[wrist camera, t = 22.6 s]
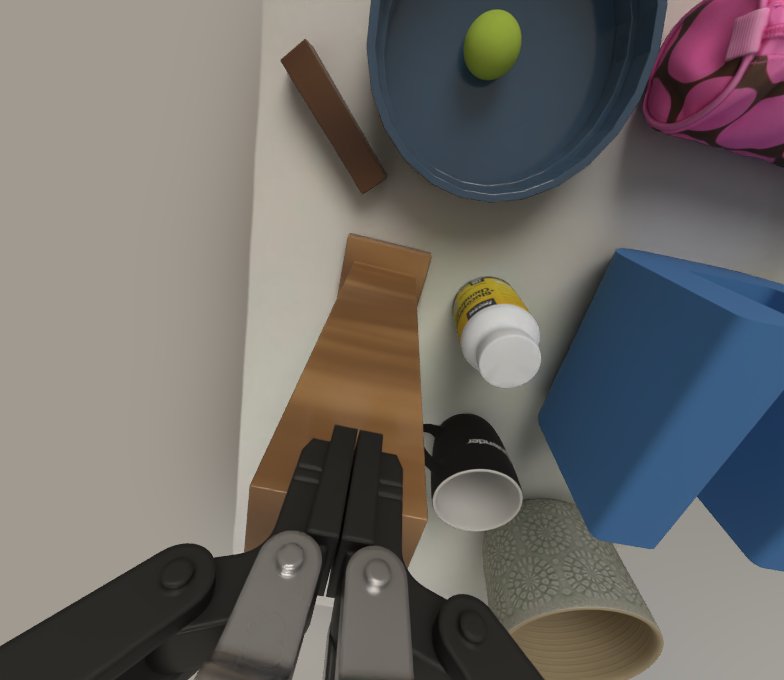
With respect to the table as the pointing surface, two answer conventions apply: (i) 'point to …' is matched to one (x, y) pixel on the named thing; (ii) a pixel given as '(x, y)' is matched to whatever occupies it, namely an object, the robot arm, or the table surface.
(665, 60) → the pencil case
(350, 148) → the stick
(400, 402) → the stand
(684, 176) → the table surface
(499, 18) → the grape
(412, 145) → the bowl
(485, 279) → the pill bottle
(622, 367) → the block
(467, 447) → the mug
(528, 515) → the planter
